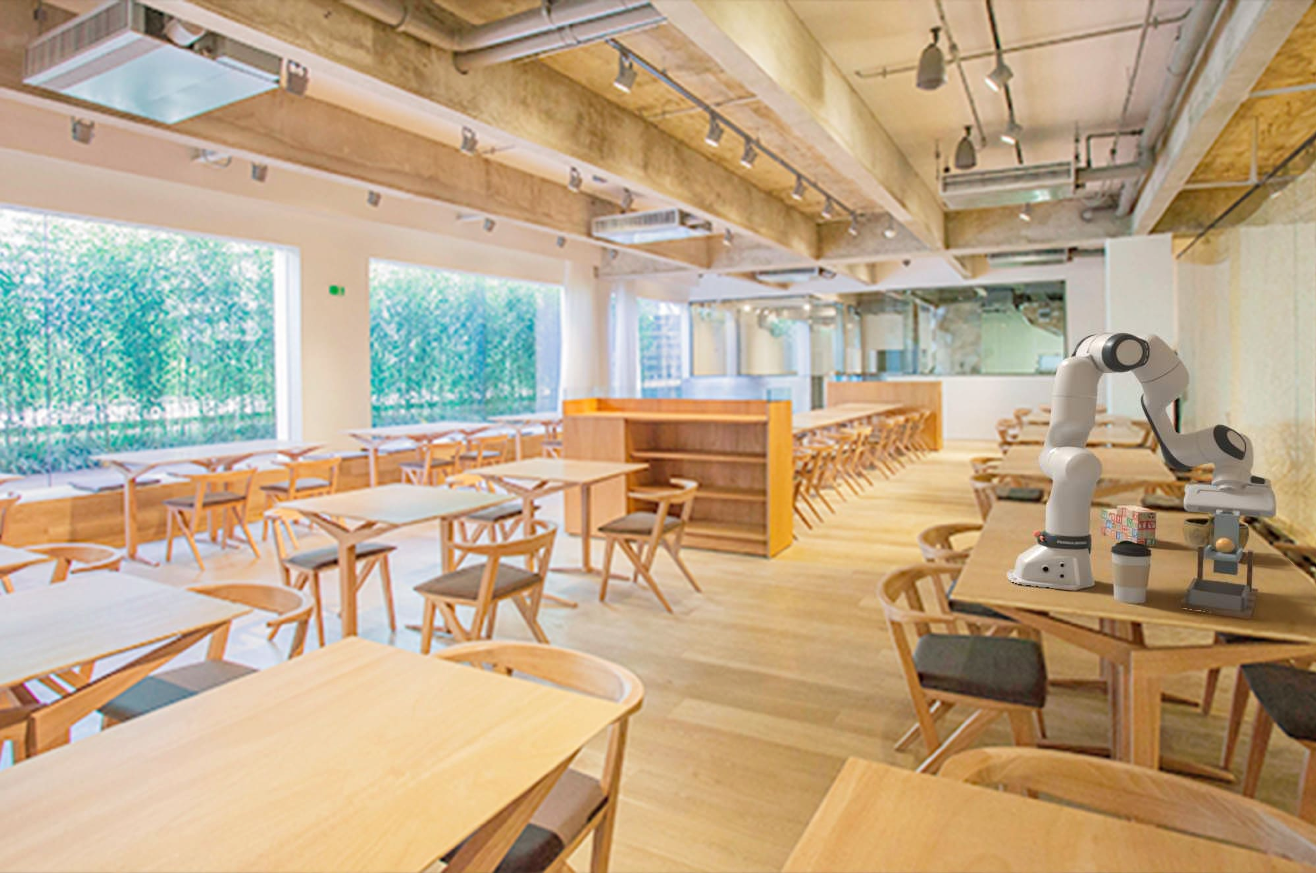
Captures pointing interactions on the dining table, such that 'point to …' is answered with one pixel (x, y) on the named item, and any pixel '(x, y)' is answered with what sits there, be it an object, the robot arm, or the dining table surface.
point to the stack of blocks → (1130, 524)
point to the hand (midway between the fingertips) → (1226, 525)
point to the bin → (1218, 594)
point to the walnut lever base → (1225, 612)
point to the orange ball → (1225, 545)
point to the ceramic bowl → (1208, 532)
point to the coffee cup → (1130, 571)
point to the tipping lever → (1228, 529)
